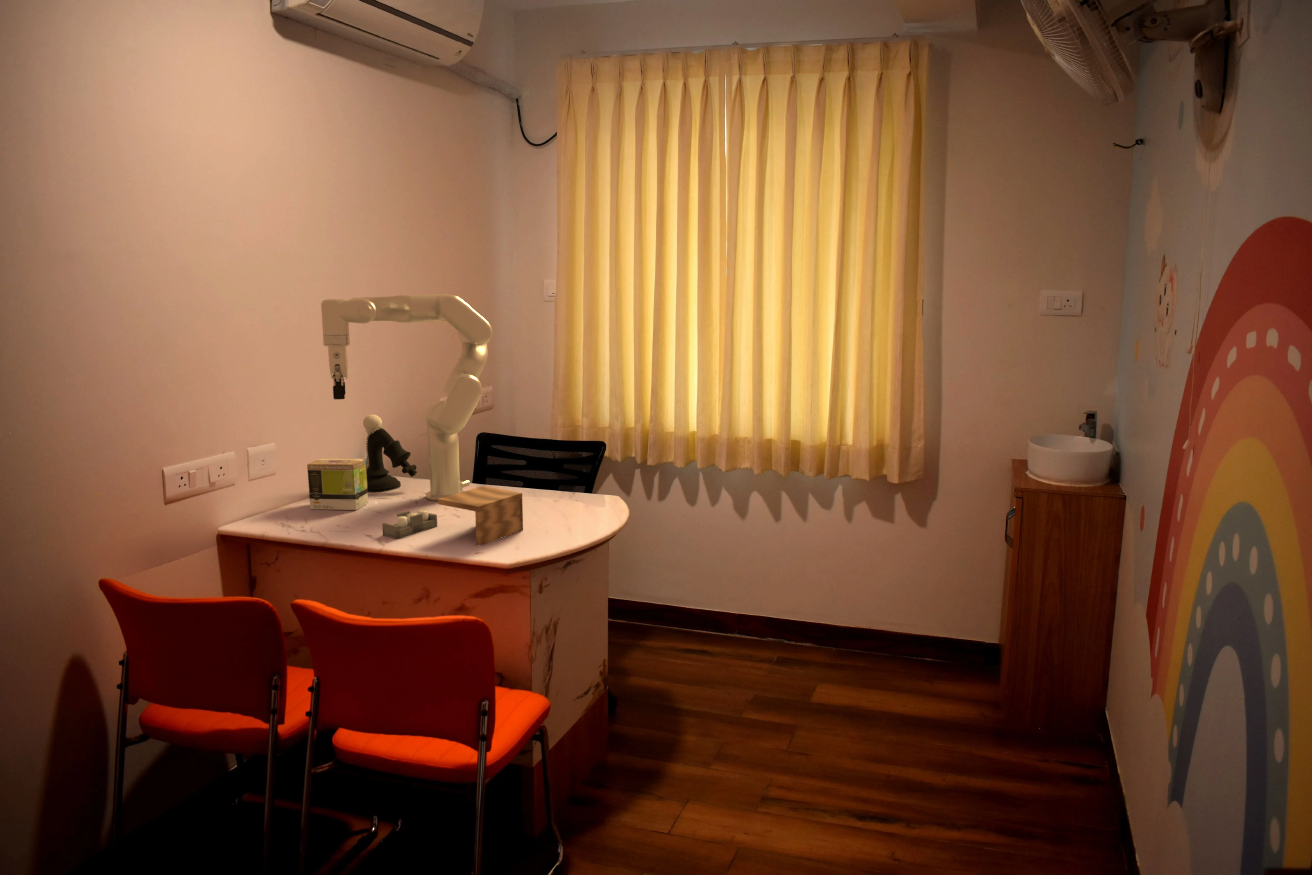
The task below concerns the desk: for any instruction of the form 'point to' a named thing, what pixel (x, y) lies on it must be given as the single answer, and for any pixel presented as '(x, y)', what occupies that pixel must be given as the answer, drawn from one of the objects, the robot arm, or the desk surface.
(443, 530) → the desk surface
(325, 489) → the tea box
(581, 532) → the desk surface
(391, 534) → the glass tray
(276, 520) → the desk surface
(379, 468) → the sculpture
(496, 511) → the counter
